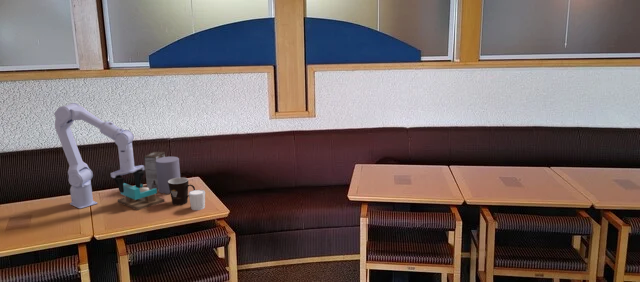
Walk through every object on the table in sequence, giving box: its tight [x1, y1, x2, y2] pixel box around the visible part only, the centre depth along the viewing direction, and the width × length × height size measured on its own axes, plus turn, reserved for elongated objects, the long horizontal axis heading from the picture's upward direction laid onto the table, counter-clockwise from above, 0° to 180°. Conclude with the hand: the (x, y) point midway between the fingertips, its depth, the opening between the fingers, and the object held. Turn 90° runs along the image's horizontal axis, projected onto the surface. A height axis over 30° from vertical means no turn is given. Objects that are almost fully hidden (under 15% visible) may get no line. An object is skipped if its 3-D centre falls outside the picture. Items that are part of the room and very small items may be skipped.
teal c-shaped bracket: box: [119, 182, 158, 200], centre depth 228 cm, size 10×12×4 cm
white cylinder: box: [188, 189, 206, 211], centre depth 221 cm, size 7×7×7 cm
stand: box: [117, 186, 165, 211], centre depth 230 cm, size 13×16×6 cm
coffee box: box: [143, 151, 166, 190], centre depth 249 cm, size 9×6×16 cm
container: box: [156, 156, 181, 195], centre depth 243 cm, size 10×10×15 cm
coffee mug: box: [168, 177, 196, 206], centre depth 226 cm, size 12×9×10 cm
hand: (129, 189), depth 225 cm, fingers open, 7 cm apart
